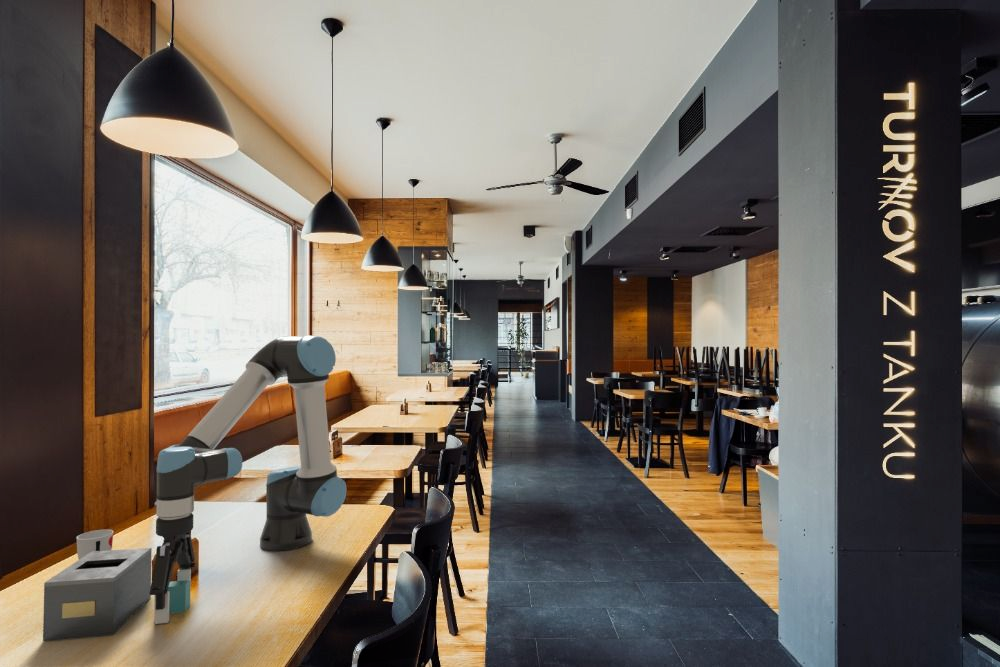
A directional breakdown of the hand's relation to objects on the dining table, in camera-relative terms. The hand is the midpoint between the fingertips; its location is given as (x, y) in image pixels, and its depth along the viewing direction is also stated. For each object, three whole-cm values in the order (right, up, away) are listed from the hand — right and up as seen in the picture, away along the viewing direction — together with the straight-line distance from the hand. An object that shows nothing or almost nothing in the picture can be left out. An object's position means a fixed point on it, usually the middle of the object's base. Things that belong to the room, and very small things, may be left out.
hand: (173, 609), depth 126 cm
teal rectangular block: (0, 0, 0) cm, 0 cm away
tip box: (-14, 0, -4) cm, 14 cm away
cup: (-35, -1, +23) cm, 42 cm away
